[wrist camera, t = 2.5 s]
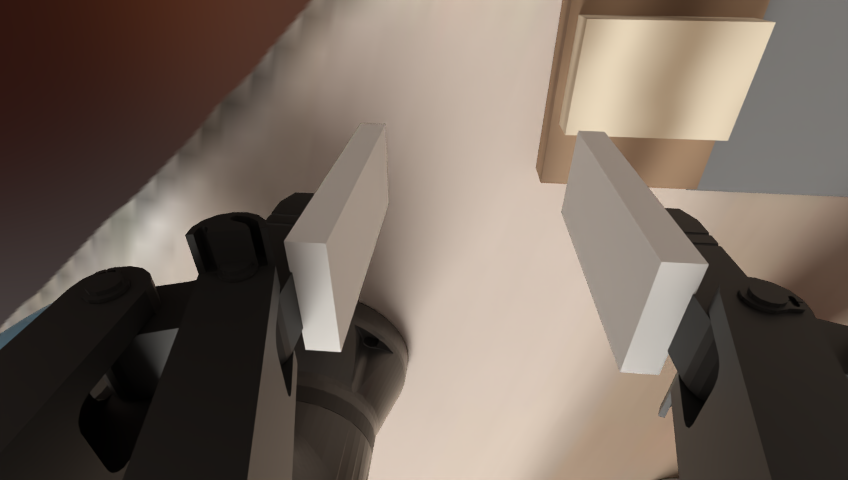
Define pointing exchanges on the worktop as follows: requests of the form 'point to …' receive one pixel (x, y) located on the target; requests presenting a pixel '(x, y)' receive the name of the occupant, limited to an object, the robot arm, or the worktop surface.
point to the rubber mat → (792, 109)
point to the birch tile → (661, 75)
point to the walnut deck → (648, 156)
